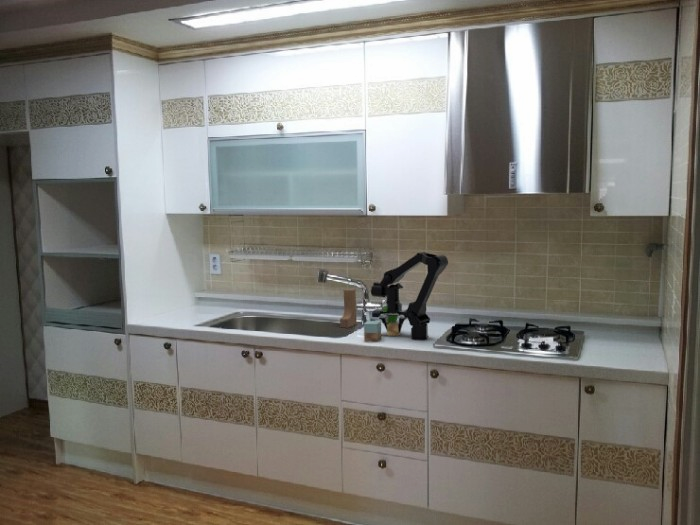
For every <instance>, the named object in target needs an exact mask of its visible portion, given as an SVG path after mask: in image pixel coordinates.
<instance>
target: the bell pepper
mask: <svg viewBox="0 0 700 525" xmlns="http://www.w3.org/2000/svg"><path fill="white" fill-rule="evenodd" d="M386 306H387V305H383V307H381V309H383V311H387V307H386ZM397 314H398V313H397ZM387 316H388V323H390V322H391V323H397V320H398V318H399V317H398V316H394V315H387Z"/></svg>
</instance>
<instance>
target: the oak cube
mask: <svg viewBox="0 0 700 525" xmlns="http://www.w3.org/2000/svg"><path fill="white" fill-rule="evenodd" d="M386 332H387V333H386V334H387V336H390V337H392V336H393V337H399V335H401V332H400V333H399V322H390V323H388V324H387V330H386Z"/></svg>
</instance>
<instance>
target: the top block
mask: <svg viewBox="0 0 700 525" xmlns="http://www.w3.org/2000/svg"><path fill="white" fill-rule="evenodd" d="M380 331H381V332H382V320H381V321H380V320H366V322H364V323H363V334H364V333H378V332H380Z"/></svg>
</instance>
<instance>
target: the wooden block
mask: <svg viewBox="0 0 700 525" xmlns="http://www.w3.org/2000/svg"><path fill="white" fill-rule="evenodd" d="M356 296H357V293H356V288H345V289H343V305H344V306H343V307H344V311H343V315H342V317H340V318H339V324H340V325H339V327H340V328H343V329H344V328H345V329H346V328H347V329H349V328H351V327H354V326H356V325H358V319H357V297H356Z"/></svg>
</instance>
